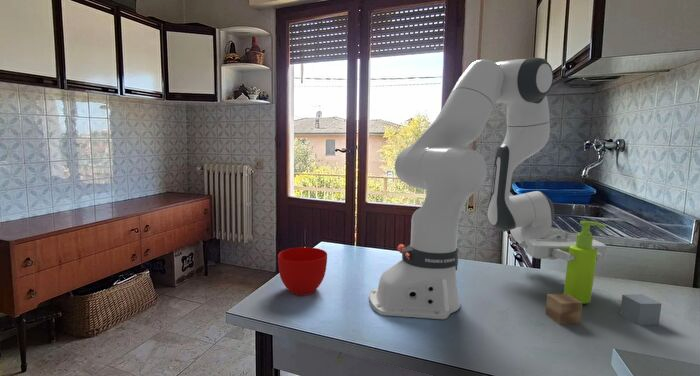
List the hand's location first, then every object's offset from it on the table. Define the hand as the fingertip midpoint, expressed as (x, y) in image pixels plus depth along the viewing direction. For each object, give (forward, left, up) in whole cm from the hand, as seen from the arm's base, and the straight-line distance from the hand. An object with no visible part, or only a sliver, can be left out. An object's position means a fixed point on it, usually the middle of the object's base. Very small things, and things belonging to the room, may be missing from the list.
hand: (585, 258), depth 90 cm
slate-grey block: (+8, -8, -12) cm, 17 cm away
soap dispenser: (0, +1, -11) cm, 11 cm away
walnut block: (-10, -7, -12) cm, 17 cm away
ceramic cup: (-70, +13, -12) cm, 72 cm away
